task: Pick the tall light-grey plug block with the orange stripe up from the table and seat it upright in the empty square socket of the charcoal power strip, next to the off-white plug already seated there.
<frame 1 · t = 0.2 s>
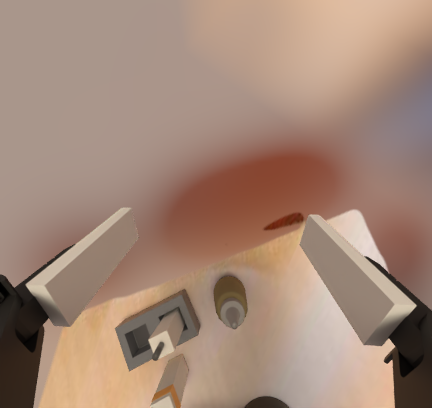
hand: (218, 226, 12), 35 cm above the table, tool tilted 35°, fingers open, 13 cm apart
plug: (178, 365, 42), on the table
twin plug: (176, 316, 43), resting on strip
squeeze bottle: (228, 288, 45), on the table
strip: (162, 322, 44), on the table
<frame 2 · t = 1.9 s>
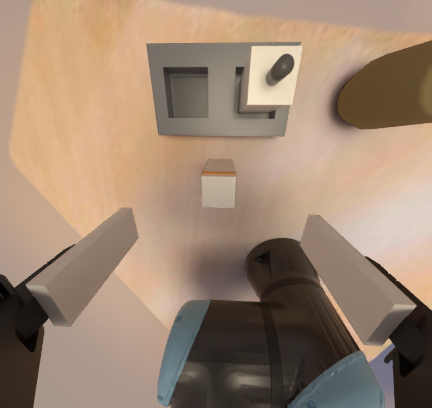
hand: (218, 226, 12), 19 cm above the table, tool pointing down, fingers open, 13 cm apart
plug: (220, 170, 29), on the table
twin plug: (252, 97, 24), resting on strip
squeeze bottle: (356, 99, 24), on the table
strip: (221, 98, 25), on the table
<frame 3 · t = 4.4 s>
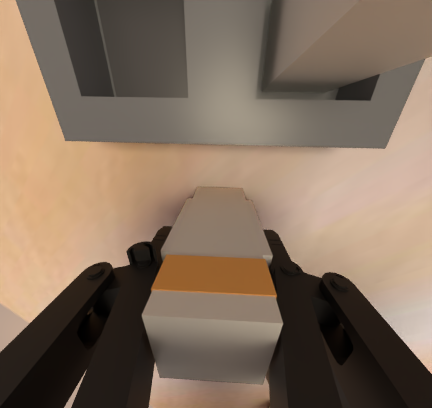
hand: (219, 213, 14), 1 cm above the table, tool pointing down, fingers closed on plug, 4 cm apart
plug: (219, 207, 15), on the table, touching gripper
twin plug: (300, 51, 10), resting on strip
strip: (223, 57, 11), on the table
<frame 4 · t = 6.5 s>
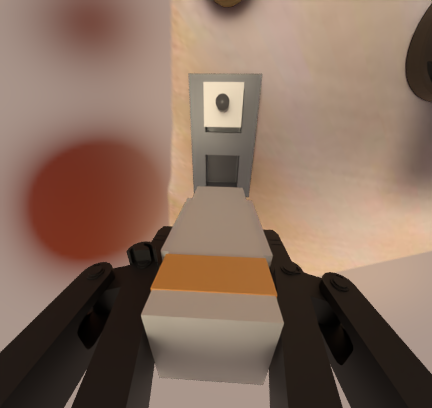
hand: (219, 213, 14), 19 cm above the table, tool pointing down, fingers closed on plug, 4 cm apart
plug: (219, 207, 15), point 18 cm above the table, touching gripper
twin plug: (224, 113, 27), resting on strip
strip: (223, 142, 30), on the table
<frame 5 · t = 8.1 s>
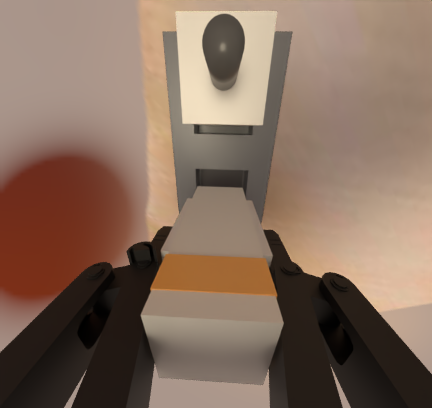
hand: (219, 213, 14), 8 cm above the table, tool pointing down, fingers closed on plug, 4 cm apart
plug: (219, 207, 15), point 7 cm above the table, touching gripper
twin plug: (224, 104, 17), resting on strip
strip: (222, 148, 20), on the table
when the fingers open (6 cm above the table, at t = 9.0 s): plug drops 3 cm, resting on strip.
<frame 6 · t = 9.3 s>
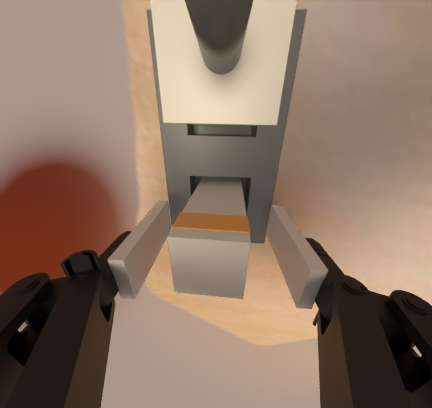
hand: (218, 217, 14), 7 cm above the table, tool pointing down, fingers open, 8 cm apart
plug: (221, 193, 18), point 1 cm above the table, touching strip
twin plug: (223, 101, 15), resting on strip
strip: (221, 151, 18), on the table
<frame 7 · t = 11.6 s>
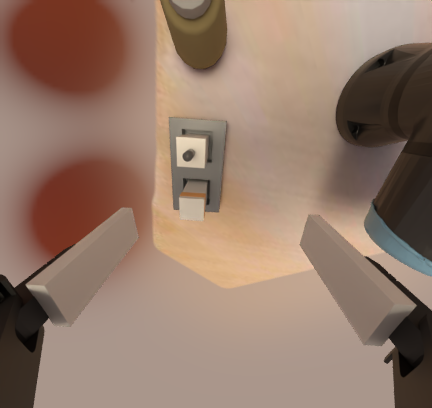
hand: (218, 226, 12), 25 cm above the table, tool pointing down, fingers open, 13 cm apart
plug: (198, 187, 37), point 1 cm above the table, touching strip
twin plug: (199, 144, 33), resting on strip
squeeze bottle: (201, 46, 27), on the table
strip: (199, 166, 36), on the table
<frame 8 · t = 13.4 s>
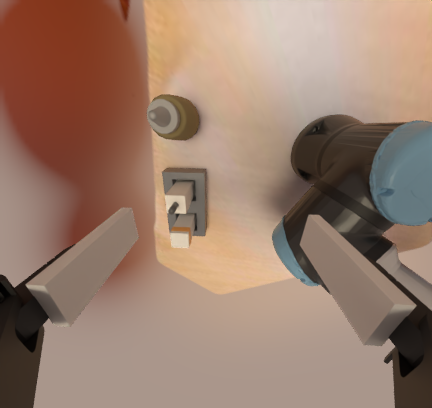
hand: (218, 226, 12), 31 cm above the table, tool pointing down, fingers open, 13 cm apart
plug: (189, 216, 47), point 1 cm above the table, touching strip
twin plug: (186, 186, 43), resting on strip
squeeze bottle: (184, 120, 37), on the table
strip: (188, 200, 46), on the table
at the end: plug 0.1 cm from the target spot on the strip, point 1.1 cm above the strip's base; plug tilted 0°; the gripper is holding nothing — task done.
